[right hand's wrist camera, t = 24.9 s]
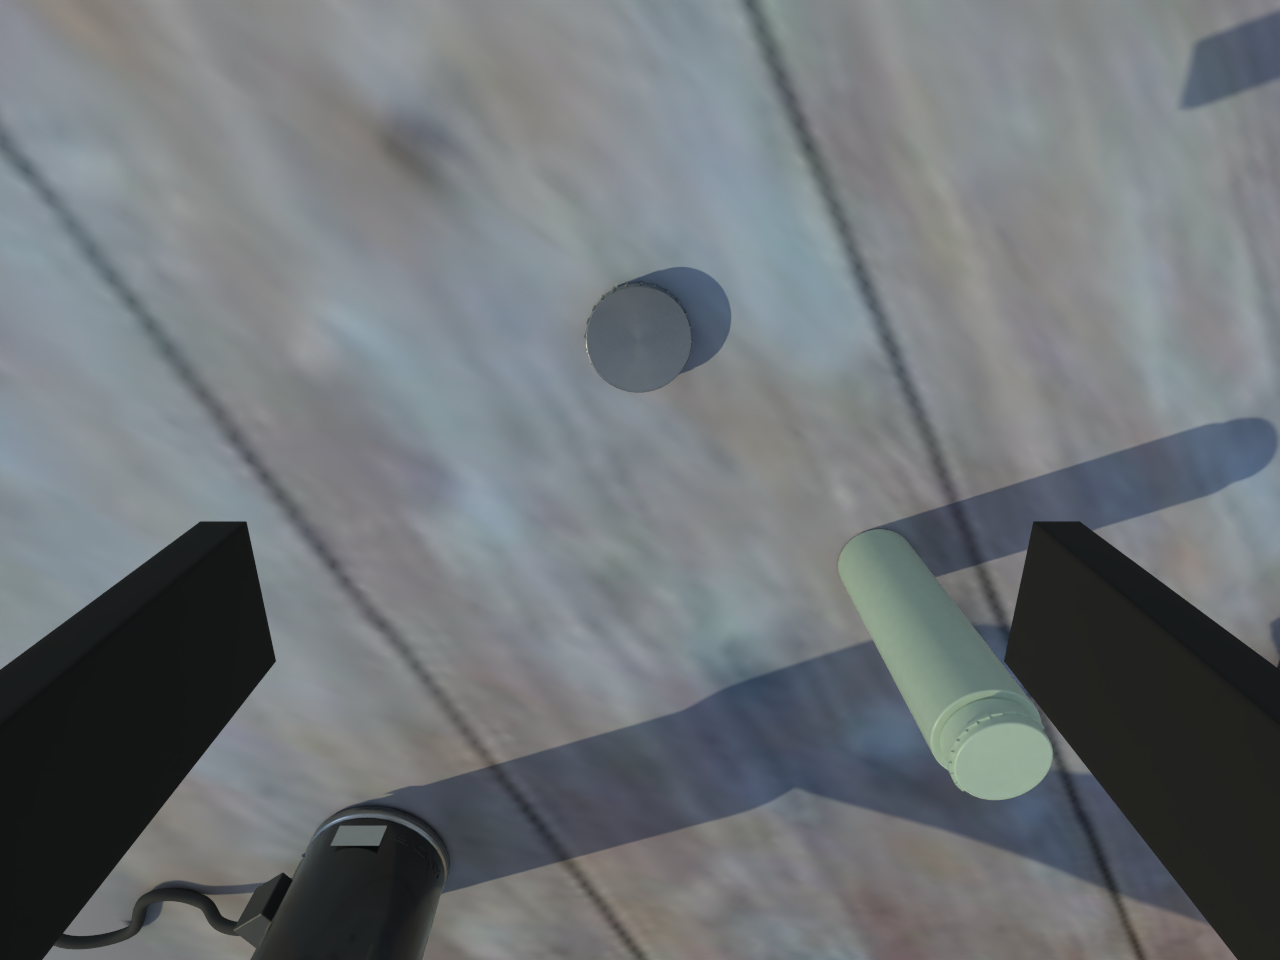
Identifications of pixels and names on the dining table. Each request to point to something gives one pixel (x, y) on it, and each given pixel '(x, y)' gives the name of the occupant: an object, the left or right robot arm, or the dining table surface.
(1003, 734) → the bottle
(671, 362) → the lid
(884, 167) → the dining table surface
